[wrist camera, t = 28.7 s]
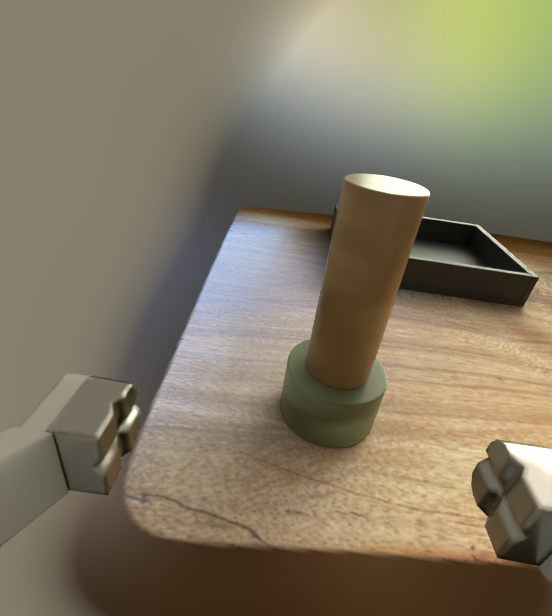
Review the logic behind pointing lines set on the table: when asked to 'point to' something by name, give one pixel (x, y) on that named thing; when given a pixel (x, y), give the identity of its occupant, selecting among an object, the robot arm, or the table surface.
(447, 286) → the pan
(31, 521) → the robot arm
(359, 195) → the tan cylinder
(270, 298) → the table surface
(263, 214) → the table surface
